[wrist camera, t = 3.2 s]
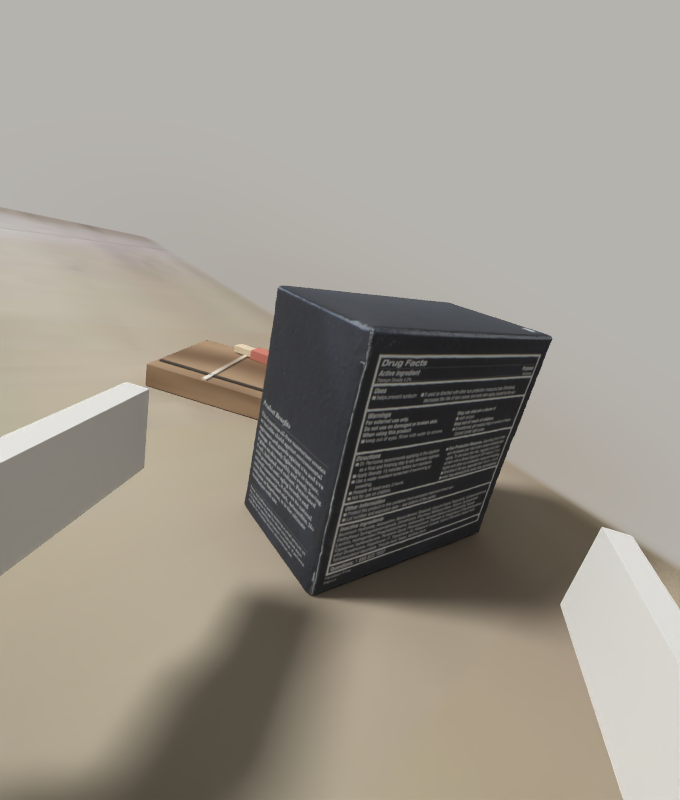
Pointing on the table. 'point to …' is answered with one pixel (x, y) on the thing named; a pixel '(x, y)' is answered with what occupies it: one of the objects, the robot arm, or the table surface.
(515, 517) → the table surface
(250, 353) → the carpenter pencil
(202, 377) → the wooden board
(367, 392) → the small box
